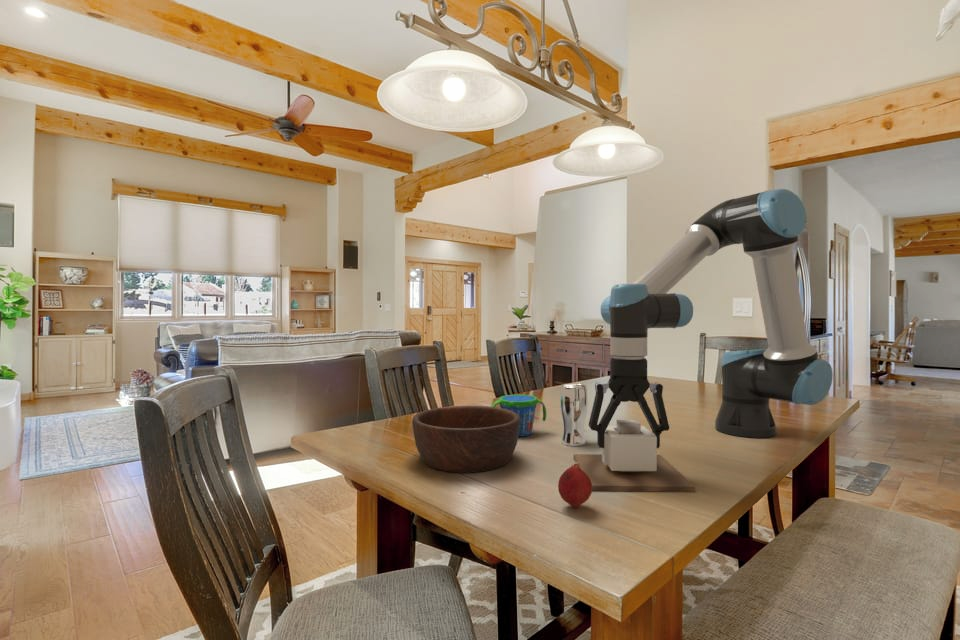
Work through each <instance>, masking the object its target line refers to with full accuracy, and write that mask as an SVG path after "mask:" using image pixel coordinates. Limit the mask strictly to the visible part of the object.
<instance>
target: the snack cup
mask: <svg viewBox="0 0 960 640" xmlns="http://www.w3.org/2000/svg"><path fill="white" fill-rule="evenodd" d="M538 403H540V404H541V405H542V422H545V421H546V419H547V407H546V405H545V404H544V402H543V401H542V400H541V399H539V398H538V397H537V396H536V395H531V394H507V395H506V394H505V395H502V396H500V397H499V399H497V400H495V401H494V402H493V404H492V406H491V407H496V406H497V405H498V404H499V406H500V407H499V408H502V409H507V410H510V411H513V412H515V413H516V414H518V415H519V417H520V427H519V434H518V437H525V436H527V437H528V436H530V435H531V434H532V433H533V429H534V422H535V412H536V408H537V404H538Z"/></svg>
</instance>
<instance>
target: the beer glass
mask: <svg viewBox="0 0 960 640" xmlns="http://www.w3.org/2000/svg"><path fill="white" fill-rule="evenodd" d="M559 396H560V398H559V402H560V403H559V404H560V414H561V415H560V416H561V421H562V425H563V426H562V427H563V431H562V433H563V434H562V439H561V442H562V444H563V445H565V446H569V447H583V446H585V445H586V442H587V441H586V436H585V425H586V417H587V413H588V412H587V411H588V388H587V385H585V384H582V383H564V384H561V385H560V395H559Z"/></svg>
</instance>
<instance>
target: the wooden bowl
mask: <svg viewBox="0 0 960 640" xmlns="http://www.w3.org/2000/svg"><path fill="white" fill-rule="evenodd" d="M411 420H412V421H411V422H412V423H411V424H412V430H413V436H414V442H415V446H416V448H417V452H418V453H419V455H420V458H421V459H422V461H423V462H424V463H425V465H428V466H429V467H431V468H433V469H436V470H439V471H443V472H449V473H450V472H451V473H479V472H486V471H490V470H495V469H498V468H500V467H503V466H504V465H506V464H507V463H508V462H509V461H510V459H511V458H512V456H513V454H514V452H515V449H516V447H517V443H518V439H519V436H518V434H519V427H520V417H519V415H518V414H516V413H515V412H513V411H510V410H507V409H502V408H501V407H496V406H495V407H492V406H485V405H451V406H450V405H449V406H440V407H435V408H429V409H426V410H423V411H420V412H418V413H417V414H415V415H414V416H413V417H412V419H411Z"/></svg>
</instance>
